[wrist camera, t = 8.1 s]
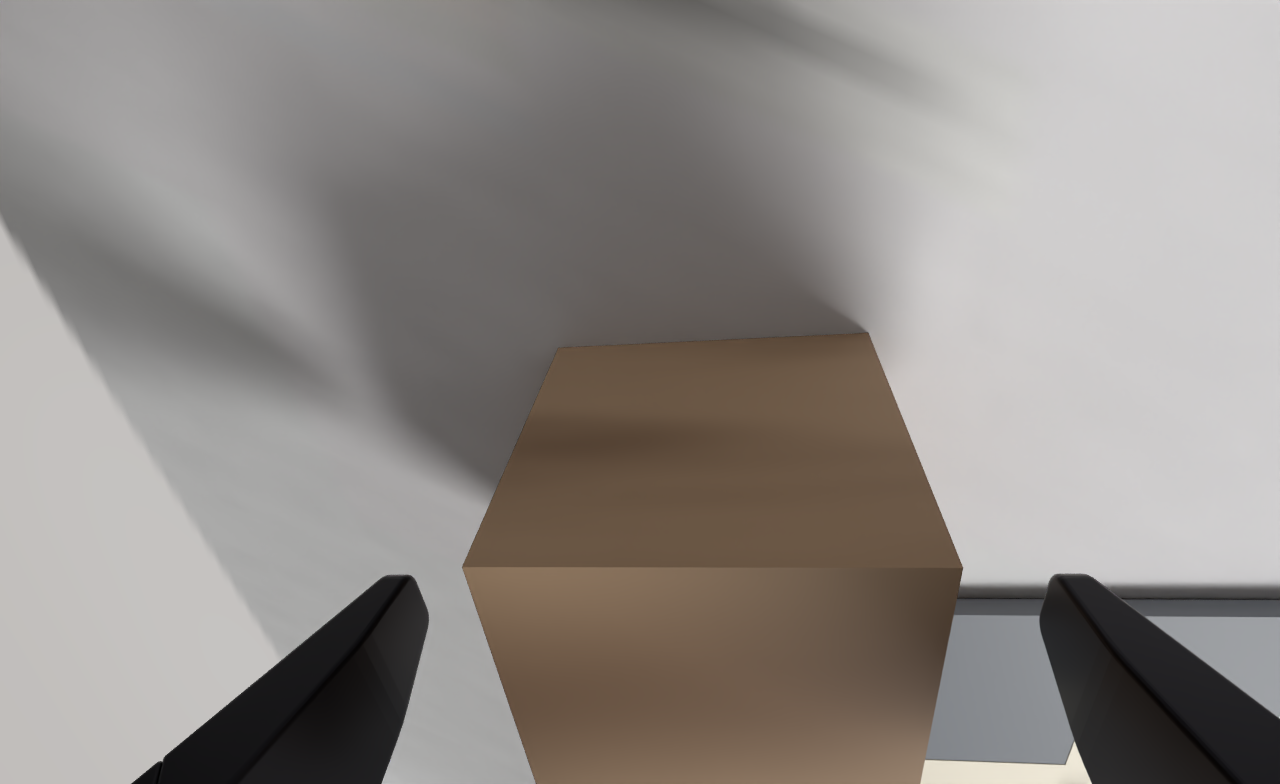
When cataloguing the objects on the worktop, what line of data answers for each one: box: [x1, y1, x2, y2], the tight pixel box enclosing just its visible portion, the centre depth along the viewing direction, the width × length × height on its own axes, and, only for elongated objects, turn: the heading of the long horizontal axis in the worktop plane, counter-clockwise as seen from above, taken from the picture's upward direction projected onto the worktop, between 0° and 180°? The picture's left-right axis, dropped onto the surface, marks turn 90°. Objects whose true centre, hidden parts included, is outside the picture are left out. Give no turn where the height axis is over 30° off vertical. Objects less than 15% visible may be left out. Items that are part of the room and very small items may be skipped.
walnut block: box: [462, 333, 963, 784], centre depth 10 cm, size 5×5×5 cm
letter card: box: [920, 599, 1280, 784], centre depth 16 cm, size 11×11×1 cm
